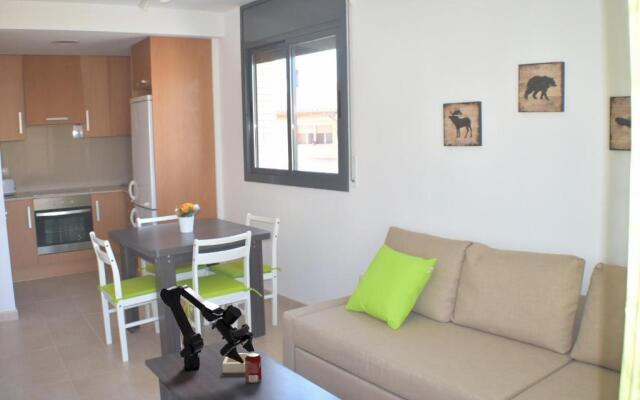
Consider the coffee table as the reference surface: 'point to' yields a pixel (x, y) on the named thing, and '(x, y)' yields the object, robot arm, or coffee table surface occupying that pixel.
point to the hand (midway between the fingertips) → (249, 359)
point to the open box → (234, 365)
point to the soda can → (253, 367)
